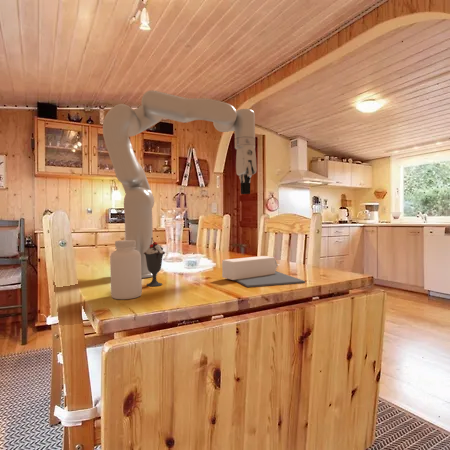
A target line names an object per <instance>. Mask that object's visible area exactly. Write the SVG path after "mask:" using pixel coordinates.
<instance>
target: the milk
mask: <svg viewBox="0 0 450 450" xmlns="http://www.w3.org/2000/svg"><path fill="white" fill-rule="evenodd" d="M221 265H222V266H221V267H222V271H221V272H222V276H221V277H222V278H224V279H227V280H232V281H234V280H237V279H243V278H250V277H257V276H264V275H271V274H275V272H276V271H277V268H278V266H280V264H278V262H277V259H276V258H275V257H274V256H272V257H271V256H267V255H260V256H250V257H249V256H248V257H240V258H239V257H237V258H230V259H222V263H221Z"/></svg>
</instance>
